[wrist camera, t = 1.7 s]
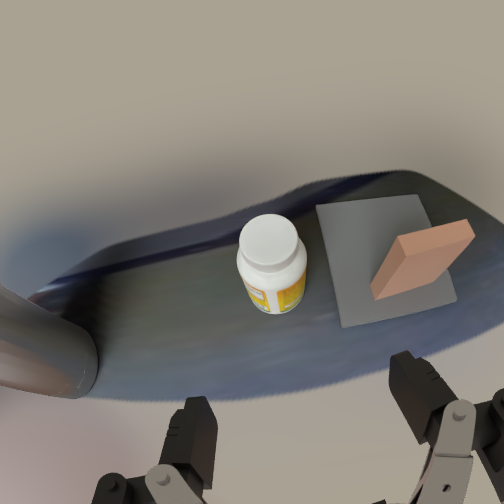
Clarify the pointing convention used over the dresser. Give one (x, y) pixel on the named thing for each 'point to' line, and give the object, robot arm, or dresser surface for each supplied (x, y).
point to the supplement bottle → (272, 263)
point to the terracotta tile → (420, 258)
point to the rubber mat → (374, 257)
